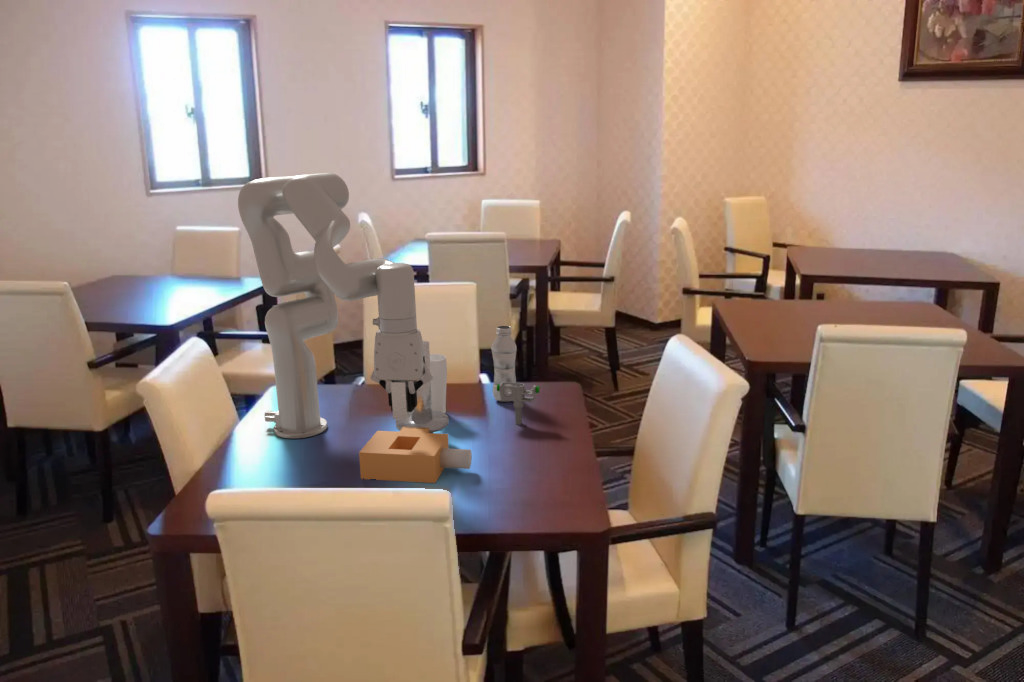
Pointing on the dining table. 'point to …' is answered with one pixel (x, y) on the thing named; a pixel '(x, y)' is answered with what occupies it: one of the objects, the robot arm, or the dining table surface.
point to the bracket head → (410, 456)
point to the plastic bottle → (503, 359)
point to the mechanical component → (517, 396)
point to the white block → (400, 399)
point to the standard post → (424, 407)
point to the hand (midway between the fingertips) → (403, 408)
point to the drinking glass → (438, 381)
